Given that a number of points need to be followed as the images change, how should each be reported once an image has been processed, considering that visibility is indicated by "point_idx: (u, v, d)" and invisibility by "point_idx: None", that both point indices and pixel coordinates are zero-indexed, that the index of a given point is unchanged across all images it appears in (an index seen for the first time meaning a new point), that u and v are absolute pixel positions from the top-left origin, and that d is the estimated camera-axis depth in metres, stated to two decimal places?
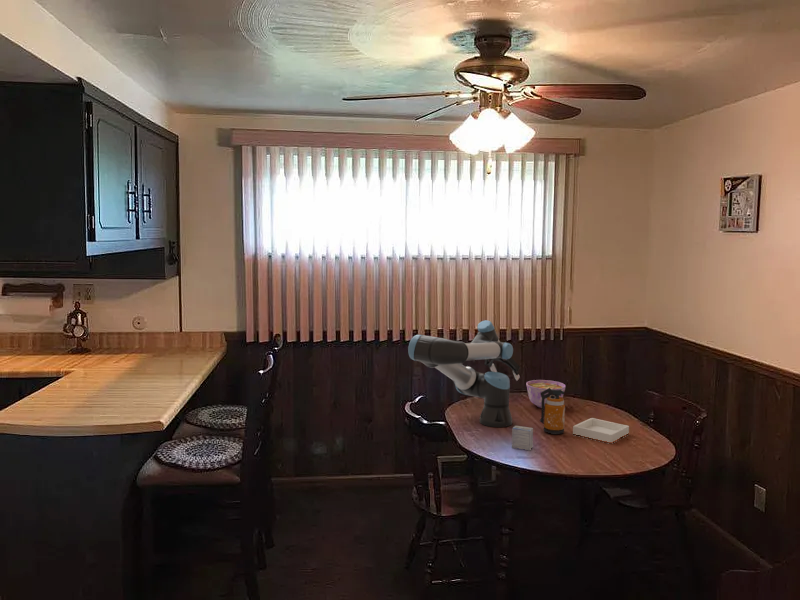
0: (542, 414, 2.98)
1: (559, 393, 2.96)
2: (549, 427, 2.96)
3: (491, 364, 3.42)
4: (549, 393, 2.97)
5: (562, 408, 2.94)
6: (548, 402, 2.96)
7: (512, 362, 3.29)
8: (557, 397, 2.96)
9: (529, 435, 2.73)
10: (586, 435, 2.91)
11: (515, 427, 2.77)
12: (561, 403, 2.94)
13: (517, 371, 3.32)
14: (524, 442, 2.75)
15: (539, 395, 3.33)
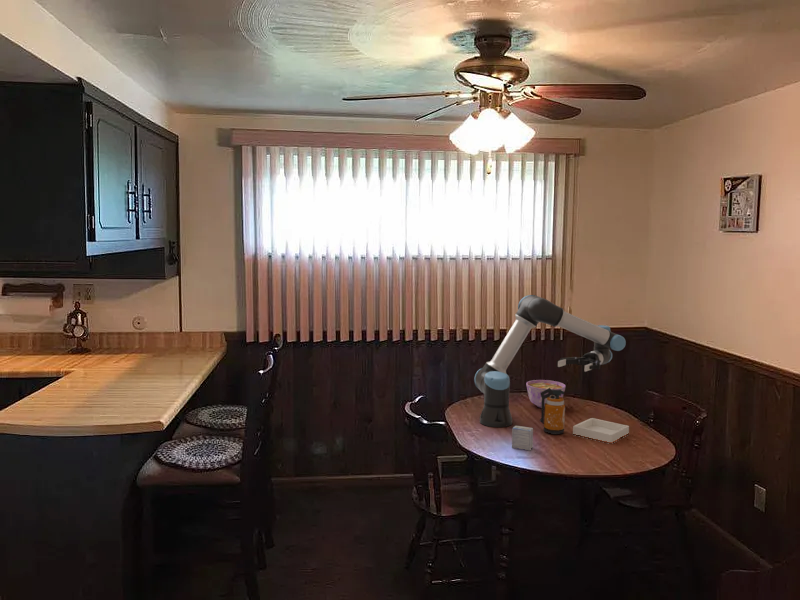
0: (542, 414, 2.98)
1: (559, 393, 2.96)
2: (549, 427, 2.96)
3: None
4: (549, 393, 2.97)
5: (562, 408, 2.94)
6: (548, 402, 2.96)
7: (599, 363, 3.12)
8: (557, 397, 2.96)
9: (529, 435, 2.73)
10: (586, 435, 2.91)
11: (515, 427, 2.77)
12: (561, 403, 2.94)
13: (593, 367, 3.07)
14: (524, 442, 2.75)
15: (539, 395, 3.33)
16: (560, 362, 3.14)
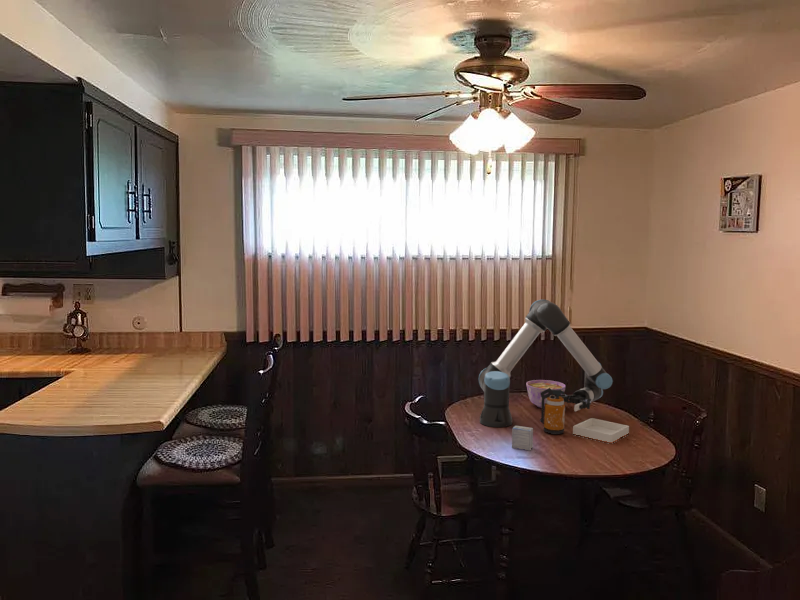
0: (542, 414, 2.98)
1: (559, 393, 2.96)
2: (549, 427, 2.96)
3: None
4: (549, 393, 2.97)
5: (562, 408, 2.94)
6: (548, 402, 2.96)
7: (589, 402, 3.07)
8: (557, 397, 2.96)
9: (529, 435, 2.73)
10: (586, 435, 2.91)
11: (515, 427, 2.77)
12: (561, 403, 2.94)
13: (583, 406, 3.02)
14: (524, 442, 2.75)
15: (539, 395, 3.33)
16: None
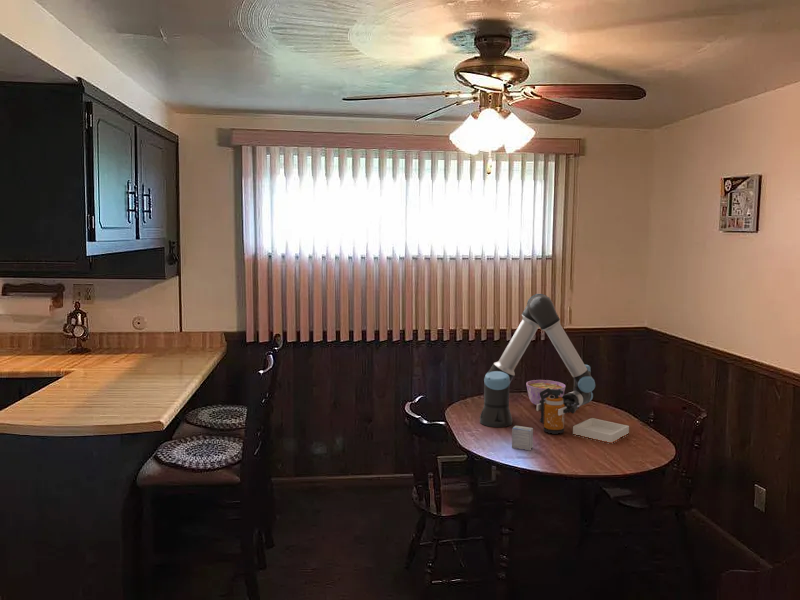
0: (542, 414, 2.98)
1: (558, 393, 2.96)
2: (549, 427, 2.96)
3: None
4: (548, 393, 2.97)
5: None
6: (547, 402, 2.96)
7: (576, 406, 2.99)
8: (556, 397, 2.96)
9: (529, 435, 2.73)
10: (586, 435, 2.91)
11: (515, 427, 2.77)
12: (560, 403, 2.94)
13: (568, 410, 2.95)
14: (524, 442, 2.75)
15: (539, 395, 3.33)
16: (539, 405, 2.99)
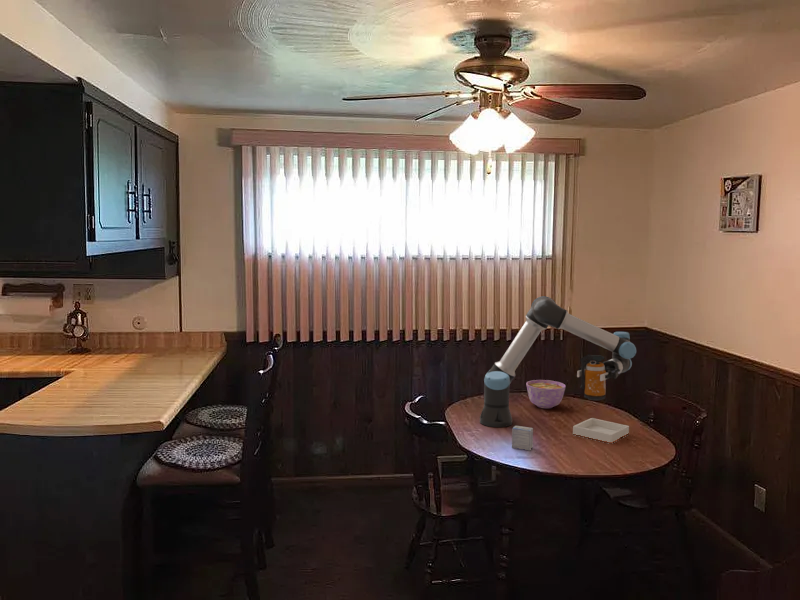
0: (582, 380, 2.94)
1: (599, 358, 2.92)
2: (590, 393, 2.91)
3: None
4: (589, 359, 2.92)
5: (603, 373, 2.90)
6: (588, 368, 2.92)
7: (617, 373, 2.95)
8: (597, 363, 2.92)
9: (529, 435, 2.73)
10: (586, 435, 2.91)
11: (515, 427, 2.77)
12: (602, 368, 2.90)
13: (609, 376, 2.90)
14: (524, 442, 2.75)
15: (539, 395, 3.33)
16: (579, 372, 2.95)
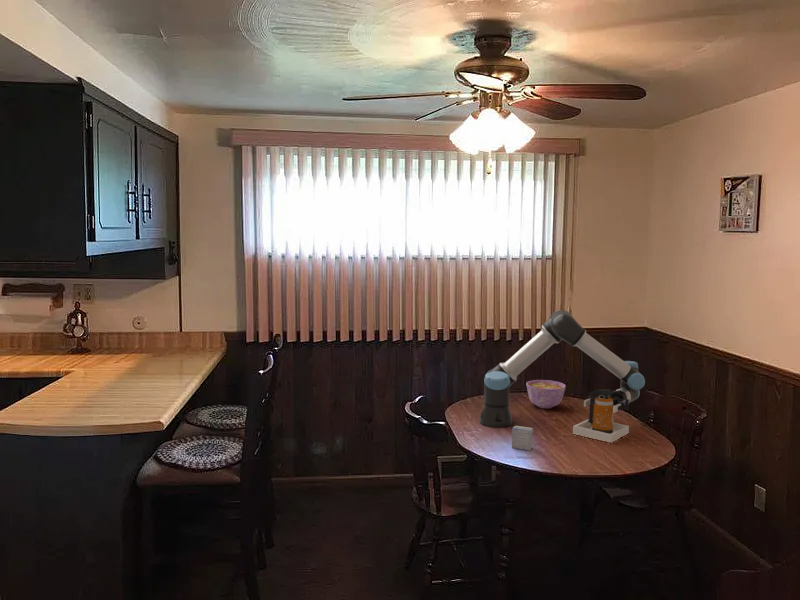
0: (591, 414, 2.95)
1: (608, 393, 2.93)
2: (598, 427, 2.92)
3: None
4: (598, 393, 2.94)
5: (611, 408, 2.91)
6: (597, 402, 2.93)
7: None
8: (606, 397, 2.93)
9: (529, 435, 2.73)
10: (586, 435, 2.91)
11: (515, 427, 2.77)
12: (610, 403, 2.91)
13: (622, 408, 2.91)
14: (524, 442, 2.75)
15: (539, 395, 3.33)
16: (586, 401, 2.97)
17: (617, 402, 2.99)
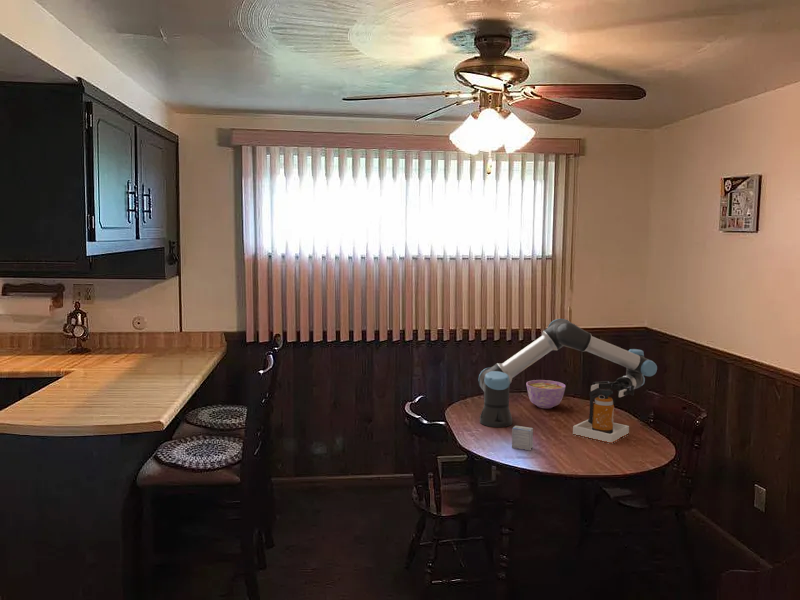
0: (591, 414, 2.95)
1: (608, 393, 2.93)
2: (598, 427, 2.92)
3: None
4: (598, 393, 2.94)
5: (611, 408, 2.91)
6: (597, 402, 2.93)
7: (633, 389, 3.08)
8: (606, 397, 2.93)
9: (529, 435, 2.73)
10: (586, 435, 2.91)
11: (515, 427, 2.77)
12: (610, 403, 2.91)
13: (627, 393, 3.03)
14: (524, 442, 2.75)
15: (539, 395, 3.33)
16: (593, 386, 3.09)
17: (623, 388, 3.10)
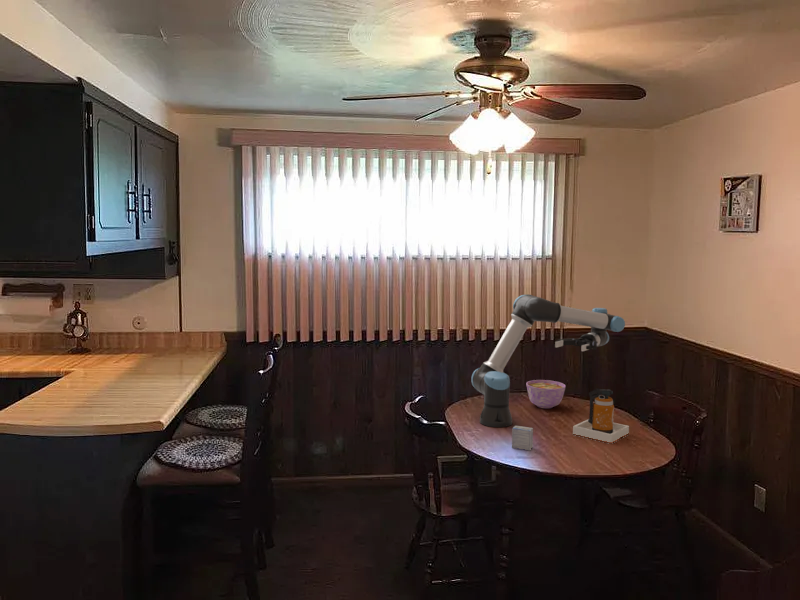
0: (591, 414, 2.95)
1: (608, 393, 2.93)
2: (598, 427, 2.92)
3: None
4: (598, 393, 2.94)
5: (611, 408, 2.91)
6: (597, 402, 2.93)
7: None
8: (606, 397, 2.93)
9: (529, 435, 2.73)
10: (586, 435, 2.91)
11: (515, 427, 2.77)
12: (610, 403, 2.91)
13: (590, 347, 3.12)
14: (524, 442, 2.75)
15: (539, 395, 3.33)
16: (557, 343, 3.18)
17: (586, 343, 3.19)
